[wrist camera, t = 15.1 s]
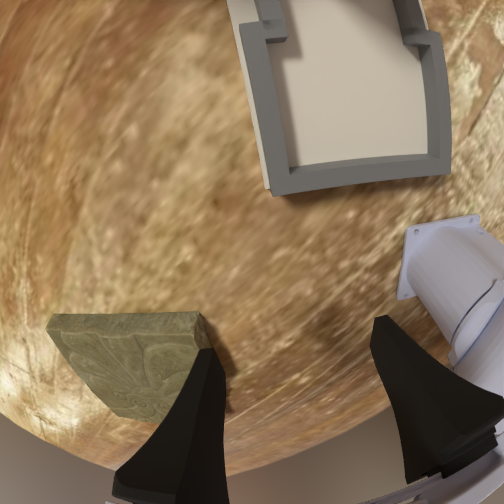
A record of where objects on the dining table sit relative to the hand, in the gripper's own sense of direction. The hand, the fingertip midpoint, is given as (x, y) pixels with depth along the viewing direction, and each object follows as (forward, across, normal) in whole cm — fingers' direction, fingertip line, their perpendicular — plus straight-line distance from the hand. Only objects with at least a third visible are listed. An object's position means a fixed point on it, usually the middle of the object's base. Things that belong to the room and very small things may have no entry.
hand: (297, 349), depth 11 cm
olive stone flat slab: (+11, +17, +15) cm, 25 cm away
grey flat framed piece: (+10, -7, -15) cm, 20 cm away
